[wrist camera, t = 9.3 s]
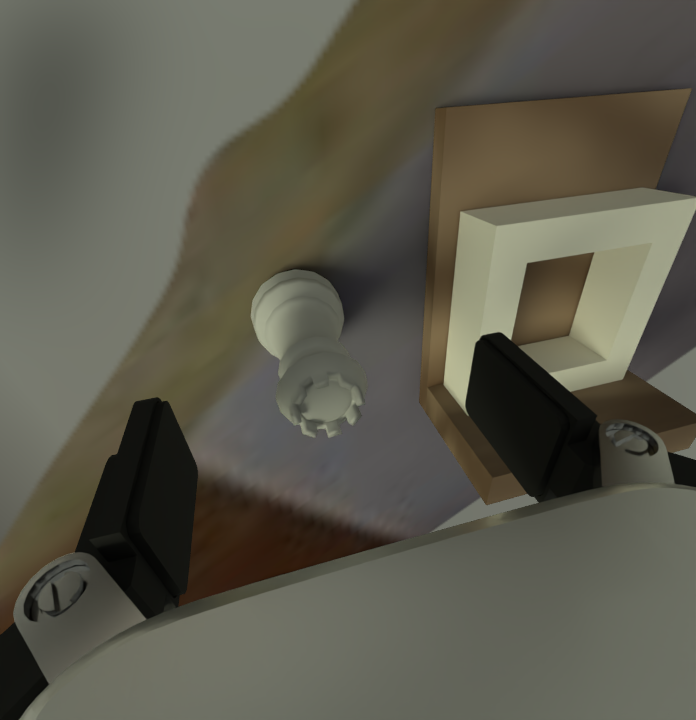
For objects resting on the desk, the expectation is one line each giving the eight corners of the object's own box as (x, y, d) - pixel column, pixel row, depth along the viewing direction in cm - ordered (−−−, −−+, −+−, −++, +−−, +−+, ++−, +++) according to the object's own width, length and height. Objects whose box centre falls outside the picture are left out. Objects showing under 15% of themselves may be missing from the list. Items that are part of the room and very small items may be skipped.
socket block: (585, 354, 24) (622, 379, 22) (443, 384, 23) (467, 415, 20) (642, 187, 19) (701, 197, 16) (460, 211, 17) (496, 226, 15)
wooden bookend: (577, 367, 27) (688, 448, 20) (419, 402, 24) (486, 505, 18) (670, 89, 18) (925, 72, 11) (435, 108, 16) (579, 101, 9)
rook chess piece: (339, 263, 18) (399, 344, 12) (338, 343, 21) (386, 447, 14) (245, 268, 17) (252, 360, 11) (254, 351, 20) (265, 468, 13)
